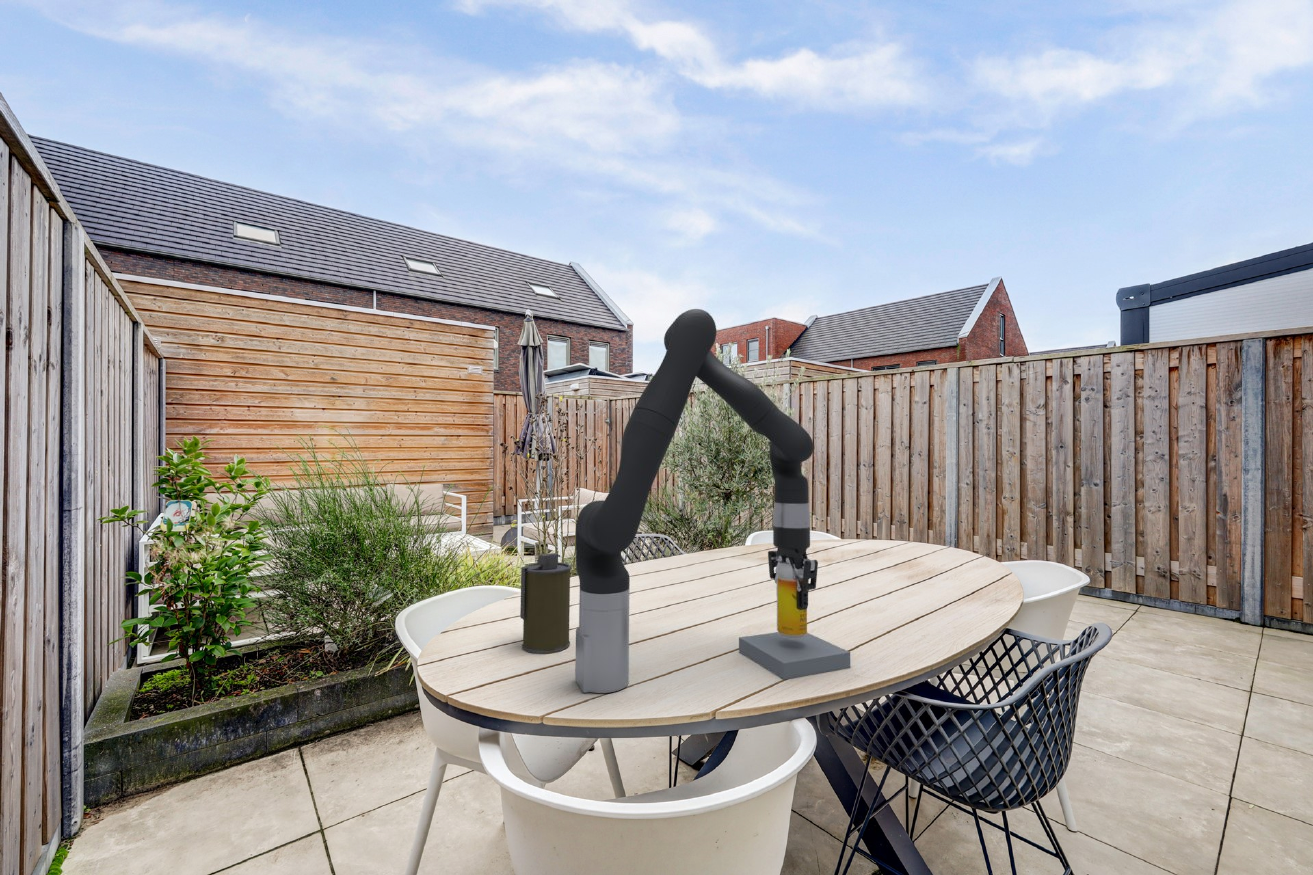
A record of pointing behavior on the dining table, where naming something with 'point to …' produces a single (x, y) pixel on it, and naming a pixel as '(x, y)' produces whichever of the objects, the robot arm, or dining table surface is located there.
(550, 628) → the canister
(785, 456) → the robot arm
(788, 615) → the beer can
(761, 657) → the stand
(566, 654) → the dining table surface
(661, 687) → the dining table surface
